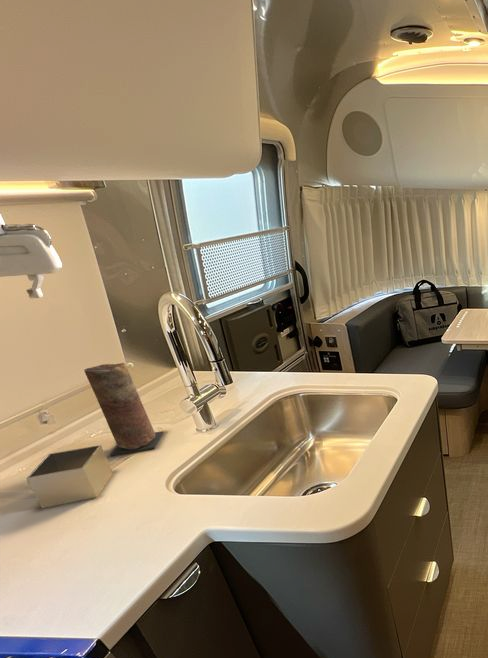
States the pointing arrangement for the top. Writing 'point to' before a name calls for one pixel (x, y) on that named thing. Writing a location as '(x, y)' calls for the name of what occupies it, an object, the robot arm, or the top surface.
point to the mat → (150, 445)
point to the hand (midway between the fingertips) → (5, 300)
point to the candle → (121, 405)
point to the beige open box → (70, 476)
